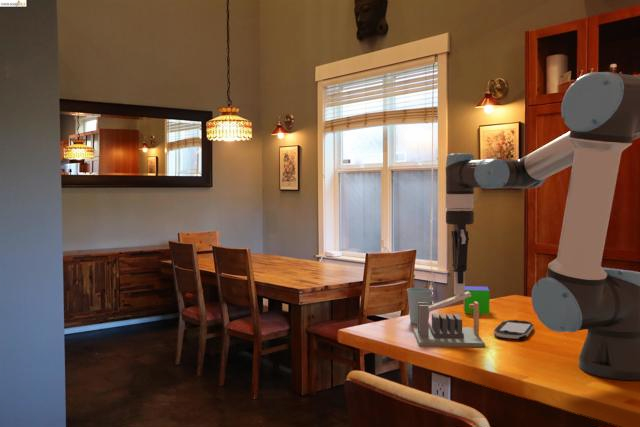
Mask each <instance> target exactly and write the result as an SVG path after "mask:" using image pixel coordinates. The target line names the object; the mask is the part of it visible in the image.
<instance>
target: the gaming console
mask: <svg viewBox="0 0 640 427" xmlns="http://www.w3.org/2000/svg"><path fill="white" fill-rule="evenodd" d="M533 330H534V323H532V322H531V321H526V320H519V319H518V320H517V319H514V320H513V319H507V320H504V321H502V322H501V323H500V324H499V325H498V326H497V327H495V329H494V330H493V335H494V337H496V338H497V339H500V340H506V341H507V340H508V341H522V340H523V339H524V340H526V339H527V337H528V336H529V335H531V333H532V331H533Z"/></svg>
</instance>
